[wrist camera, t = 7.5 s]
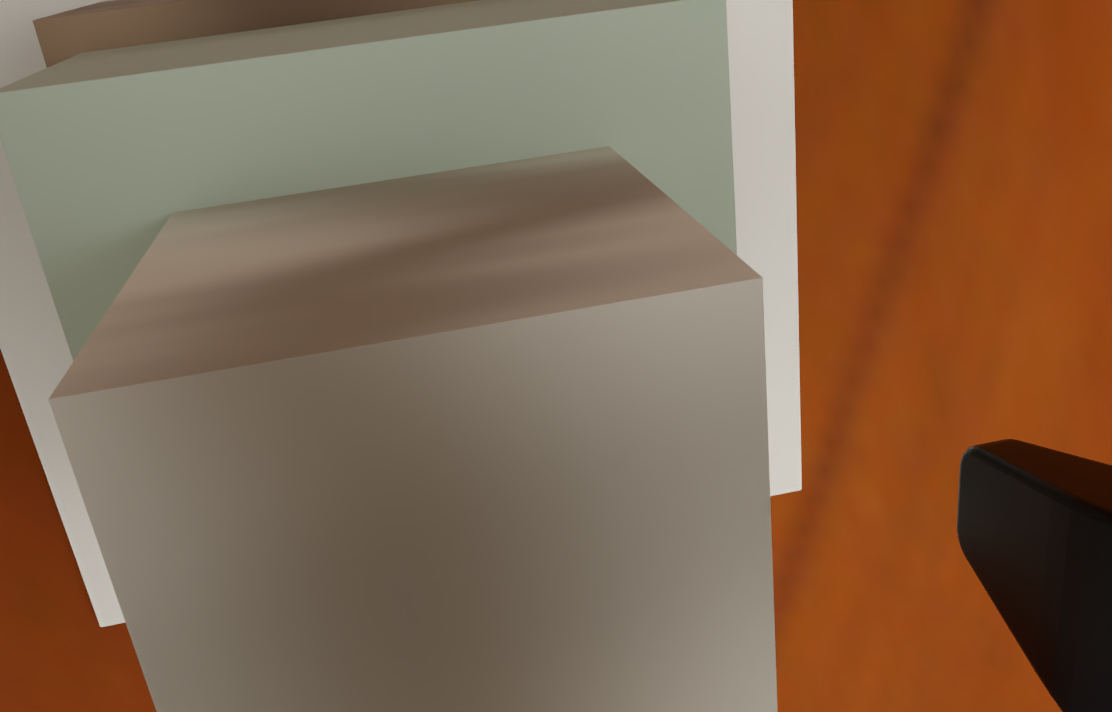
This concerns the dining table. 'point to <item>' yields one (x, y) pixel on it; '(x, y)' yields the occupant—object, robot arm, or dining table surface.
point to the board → (761, 233)
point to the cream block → (436, 450)
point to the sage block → (357, 119)
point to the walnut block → (190, 20)
